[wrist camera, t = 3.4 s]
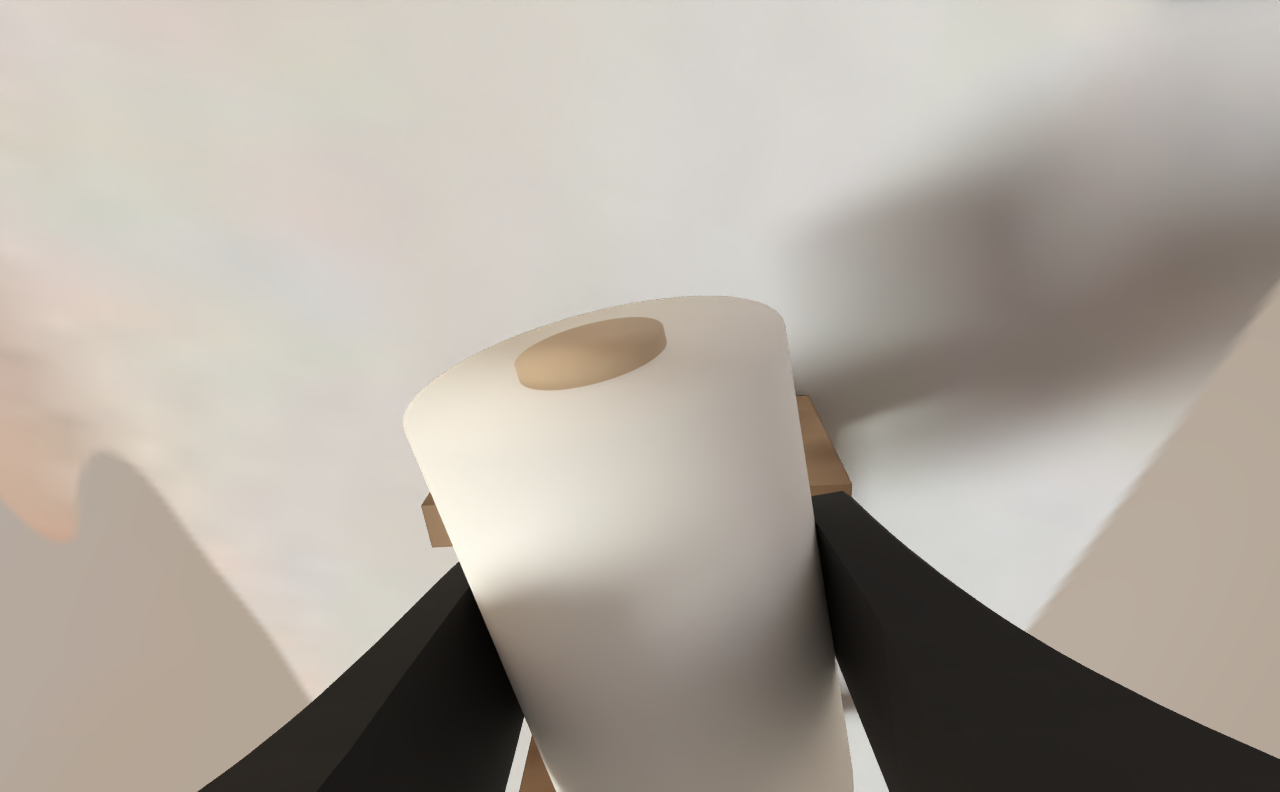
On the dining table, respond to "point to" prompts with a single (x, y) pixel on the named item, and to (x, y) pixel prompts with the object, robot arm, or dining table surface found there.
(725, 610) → the roll
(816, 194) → the dining table surface
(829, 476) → the holder
